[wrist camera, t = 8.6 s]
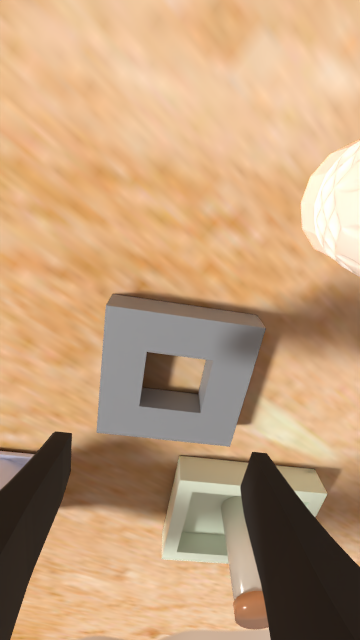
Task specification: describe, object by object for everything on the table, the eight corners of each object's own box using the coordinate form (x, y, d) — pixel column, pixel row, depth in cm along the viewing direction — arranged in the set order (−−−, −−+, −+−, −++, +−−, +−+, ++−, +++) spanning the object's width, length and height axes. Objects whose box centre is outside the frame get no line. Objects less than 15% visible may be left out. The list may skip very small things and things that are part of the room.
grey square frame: (102, 412, 24) (96, 432, 22) (112, 293, 20) (105, 305, 18) (224, 425, 25) (229, 446, 23) (256, 314, 21) (265, 328, 19)
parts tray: (162, 531, 30) (161, 559, 28) (179, 455, 26) (180, 480, 24) (280, 540, 31) (289, 567, 29) (314, 469, 27) (327, 493, 25)
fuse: (218, 517, 28) (232, 629, 21) (221, 495, 27) (238, 605, 20) (251, 518, 28) (277, 629, 21) (256, 495, 27) (285, 605, 20)
